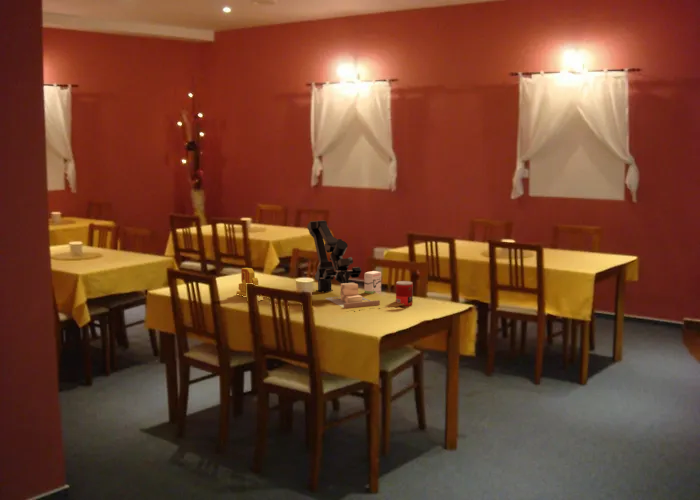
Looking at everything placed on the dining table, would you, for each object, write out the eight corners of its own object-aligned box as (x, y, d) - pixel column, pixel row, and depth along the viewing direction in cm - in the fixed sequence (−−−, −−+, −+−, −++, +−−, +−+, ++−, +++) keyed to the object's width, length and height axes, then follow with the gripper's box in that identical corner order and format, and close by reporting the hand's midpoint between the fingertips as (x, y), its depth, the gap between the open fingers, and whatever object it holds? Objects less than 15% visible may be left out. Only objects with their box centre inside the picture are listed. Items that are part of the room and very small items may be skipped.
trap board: (324, 301, 371) (324, 298, 371) (358, 297, 378) (358, 294, 378) (338, 308, 355) (338, 305, 355) (373, 304, 362) (373, 301, 362)
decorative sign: (263, 300, 373) (263, 270, 371) (259, 301, 371) (258, 271, 369) (241, 294, 388) (240, 265, 386) (236, 295, 386) (235, 266, 384)
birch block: (340, 299, 367) (340, 283, 365) (353, 298, 369) (353, 282, 368) (348, 303, 357) (348, 287, 356) (362, 302, 360) (362, 286, 359)
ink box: (371, 296, 381) (371, 273, 379) (363, 295, 384) (364, 272, 382) (381, 294, 388) (381, 271, 386) (373, 292, 391) (373, 270, 389)
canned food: (411, 307, 357) (411, 284, 356) (394, 306, 359) (394, 283, 357) (413, 303, 365) (413, 281, 363) (397, 302, 366) (397, 280, 365)
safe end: (338, 308, 355) (338, 301, 354) (373, 304, 362) (373, 297, 362) (344, 311, 349) (344, 303, 348) (379, 307, 356) (379, 300, 355)
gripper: (324, 253, 366) (333, 279, 358) (359, 250, 374) (369, 276, 365) (319, 266, 374) (327, 292, 366) (353, 264, 382) (362, 289, 373)
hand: (347, 287), depth 367 cm, fingers closed
